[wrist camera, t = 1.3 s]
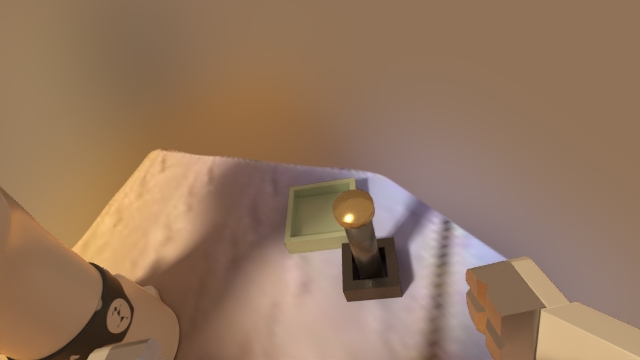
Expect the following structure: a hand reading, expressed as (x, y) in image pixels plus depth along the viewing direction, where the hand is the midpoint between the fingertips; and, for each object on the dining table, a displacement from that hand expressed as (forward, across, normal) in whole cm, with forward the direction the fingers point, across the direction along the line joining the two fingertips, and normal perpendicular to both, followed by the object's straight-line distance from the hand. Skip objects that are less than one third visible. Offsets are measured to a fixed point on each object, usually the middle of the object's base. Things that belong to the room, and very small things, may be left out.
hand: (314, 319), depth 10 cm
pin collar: (+32, +4, -29) cm, 43 cm away
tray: (+42, 0, -26) cm, 50 cm away
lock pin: (+32, +4, -29) cm, 43 cm away
